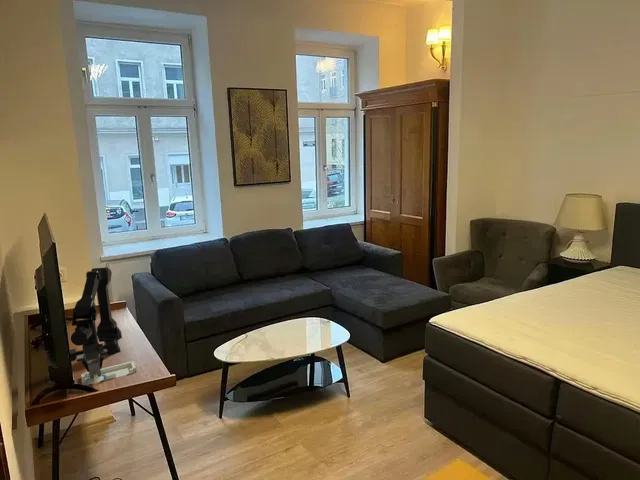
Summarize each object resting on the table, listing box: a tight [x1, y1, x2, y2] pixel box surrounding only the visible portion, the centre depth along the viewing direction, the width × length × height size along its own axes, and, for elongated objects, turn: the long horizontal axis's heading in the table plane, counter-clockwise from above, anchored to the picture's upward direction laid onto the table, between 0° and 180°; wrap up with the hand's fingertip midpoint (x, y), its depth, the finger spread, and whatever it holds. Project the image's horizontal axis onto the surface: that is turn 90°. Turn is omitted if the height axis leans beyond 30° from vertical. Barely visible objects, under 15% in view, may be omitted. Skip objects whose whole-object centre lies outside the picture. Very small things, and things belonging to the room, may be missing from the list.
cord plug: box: [87, 358, 101, 384], centre depth 183 cm, size 10×4×6 cm, turn 28°
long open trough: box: [80, 360, 137, 386], centre depth 188 cm, size 8×20×3 cm, turn 118°
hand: (94, 370), depth 186 cm, fingers closed on cord plug, 4 cm apart
